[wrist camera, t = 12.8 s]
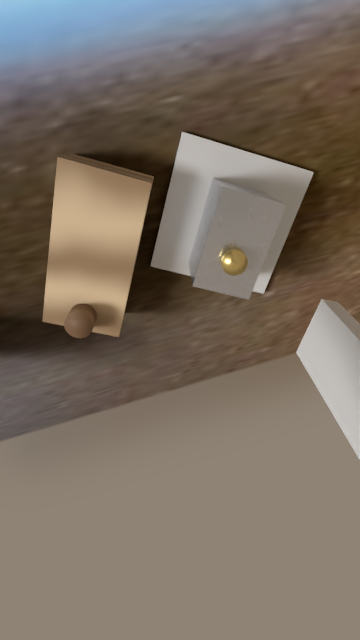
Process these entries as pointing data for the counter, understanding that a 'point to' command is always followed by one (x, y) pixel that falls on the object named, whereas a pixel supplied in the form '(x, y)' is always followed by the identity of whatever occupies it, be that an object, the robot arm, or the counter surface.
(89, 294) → the body
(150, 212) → the counter surface
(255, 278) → the white knobbed box
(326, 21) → the counter surface
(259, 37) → the counter surface
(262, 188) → the felt mat
